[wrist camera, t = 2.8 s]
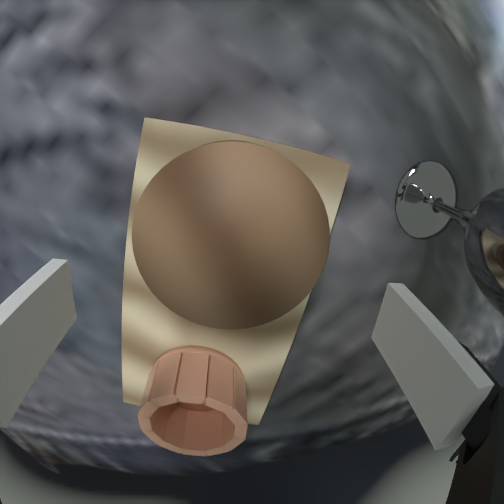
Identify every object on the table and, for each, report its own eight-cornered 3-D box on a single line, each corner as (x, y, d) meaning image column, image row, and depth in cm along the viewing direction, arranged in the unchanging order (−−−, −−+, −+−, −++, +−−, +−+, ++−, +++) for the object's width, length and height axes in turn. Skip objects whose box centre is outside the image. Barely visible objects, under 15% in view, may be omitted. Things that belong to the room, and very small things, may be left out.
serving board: (150, 118, 21) (144, 117, 20) (344, 161, 23) (350, 163, 22) (126, 392, 31) (123, 401, 30) (257, 415, 33) (258, 424, 32)
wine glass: (374, 194, 24) (502, 272, 10) (436, 138, 23) (578, 169, 9) (416, 260, 27) (520, 358, 13) (471, 207, 25) (588, 271, 11)
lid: (276, 111, 17) (283, 107, 15) (338, 266, 21) (353, 286, 19) (116, 190, 19) (97, 201, 16) (195, 325, 23) (191, 351, 20)
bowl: (216, 332, 26) (213, 381, 21) (259, 395, 30) (263, 442, 24) (133, 361, 27) (117, 407, 22) (182, 417, 31) (177, 461, 25)
